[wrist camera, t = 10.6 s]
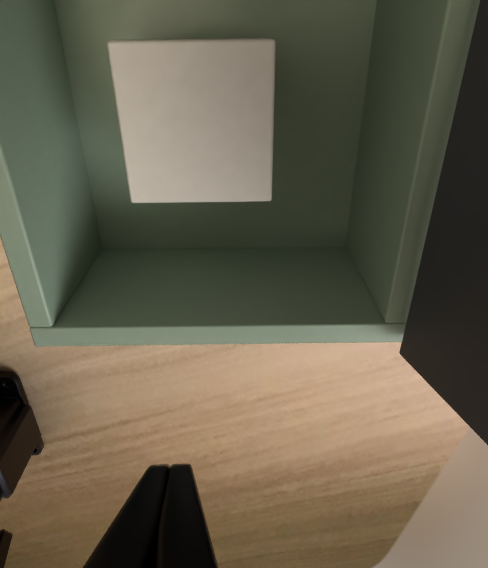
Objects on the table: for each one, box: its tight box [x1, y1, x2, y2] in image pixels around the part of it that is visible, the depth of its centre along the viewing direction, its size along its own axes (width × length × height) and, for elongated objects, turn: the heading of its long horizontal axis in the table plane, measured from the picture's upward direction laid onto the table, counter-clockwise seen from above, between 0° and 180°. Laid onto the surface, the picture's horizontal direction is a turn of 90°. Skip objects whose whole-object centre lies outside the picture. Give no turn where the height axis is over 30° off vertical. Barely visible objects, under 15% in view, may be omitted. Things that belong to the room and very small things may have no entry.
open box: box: [0, 0, 480, 346], centre depth 14 cm, size 13×14×7 cm
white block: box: [107, 38, 276, 203], centre depth 14 cm, size 4×4×4 cm
